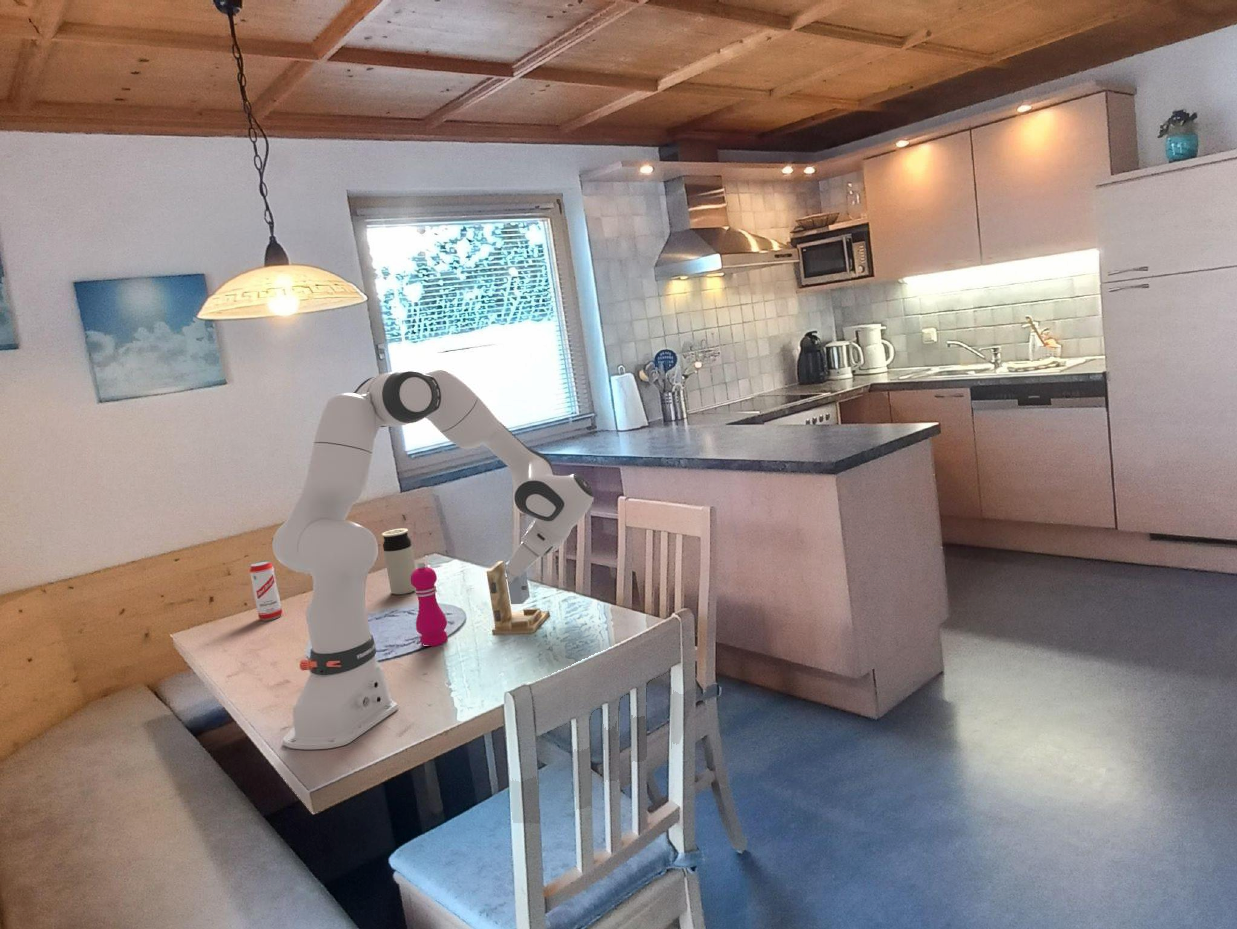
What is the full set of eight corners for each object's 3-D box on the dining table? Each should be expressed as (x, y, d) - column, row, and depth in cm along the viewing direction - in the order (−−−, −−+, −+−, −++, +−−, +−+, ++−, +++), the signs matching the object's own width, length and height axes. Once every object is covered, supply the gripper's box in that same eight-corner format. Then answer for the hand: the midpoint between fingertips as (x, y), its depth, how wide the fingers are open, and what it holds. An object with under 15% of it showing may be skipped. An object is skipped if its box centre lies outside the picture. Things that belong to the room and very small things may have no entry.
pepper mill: (442, 647, 194) (428, 564, 190) (414, 648, 195) (399, 567, 192) (454, 635, 200) (441, 555, 197) (426, 636, 202) (413, 557, 199)
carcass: (533, 632, 195) (524, 571, 193) (492, 634, 198) (483, 573, 196) (549, 614, 207) (541, 556, 205) (510, 616, 210) (502, 558, 207)
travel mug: (414, 593, 240) (404, 533, 238) (387, 596, 241) (377, 536, 238) (422, 585, 248) (412, 526, 245) (396, 587, 249) (385, 529, 246)
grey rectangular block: (526, 603, 198) (520, 563, 197) (511, 604, 200) (504, 564, 198) (533, 596, 203) (527, 557, 202) (518, 597, 204) (512, 558, 203)
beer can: (284, 616, 234) (274, 562, 231) (261, 623, 231) (250, 567, 228) (280, 612, 239) (270, 558, 237) (257, 618, 236) (246, 564, 233)
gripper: (550, 514, 207) (519, 554, 211) (521, 536, 187) (487, 580, 191) (569, 530, 206) (538, 570, 210) (542, 554, 187) (508, 598, 191)
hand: (514, 575), depth 201 cm, fingers closed on grey rectangular block, 5 cm apart
